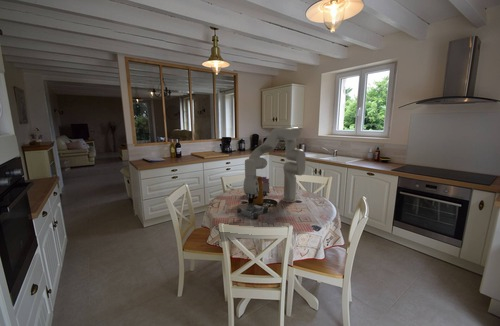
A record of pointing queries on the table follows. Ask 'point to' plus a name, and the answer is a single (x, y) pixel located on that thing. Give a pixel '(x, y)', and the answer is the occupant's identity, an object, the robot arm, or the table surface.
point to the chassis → (249, 214)
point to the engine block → (251, 208)
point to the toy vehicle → (265, 185)
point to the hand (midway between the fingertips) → (251, 202)
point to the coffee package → (258, 198)
